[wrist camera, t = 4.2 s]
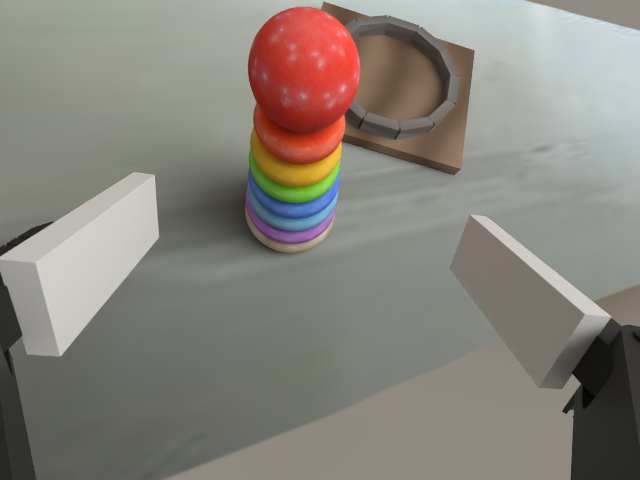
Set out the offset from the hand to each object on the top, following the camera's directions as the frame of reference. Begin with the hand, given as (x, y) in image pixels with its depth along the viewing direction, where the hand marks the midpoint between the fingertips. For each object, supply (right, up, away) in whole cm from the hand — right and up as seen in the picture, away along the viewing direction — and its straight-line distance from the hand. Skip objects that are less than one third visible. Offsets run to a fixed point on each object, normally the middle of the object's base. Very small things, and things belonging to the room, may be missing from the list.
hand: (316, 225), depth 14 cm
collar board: (+7, +16, +22) cm, 28 cm away
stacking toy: (-3, +2, +17) cm, 17 cm away
